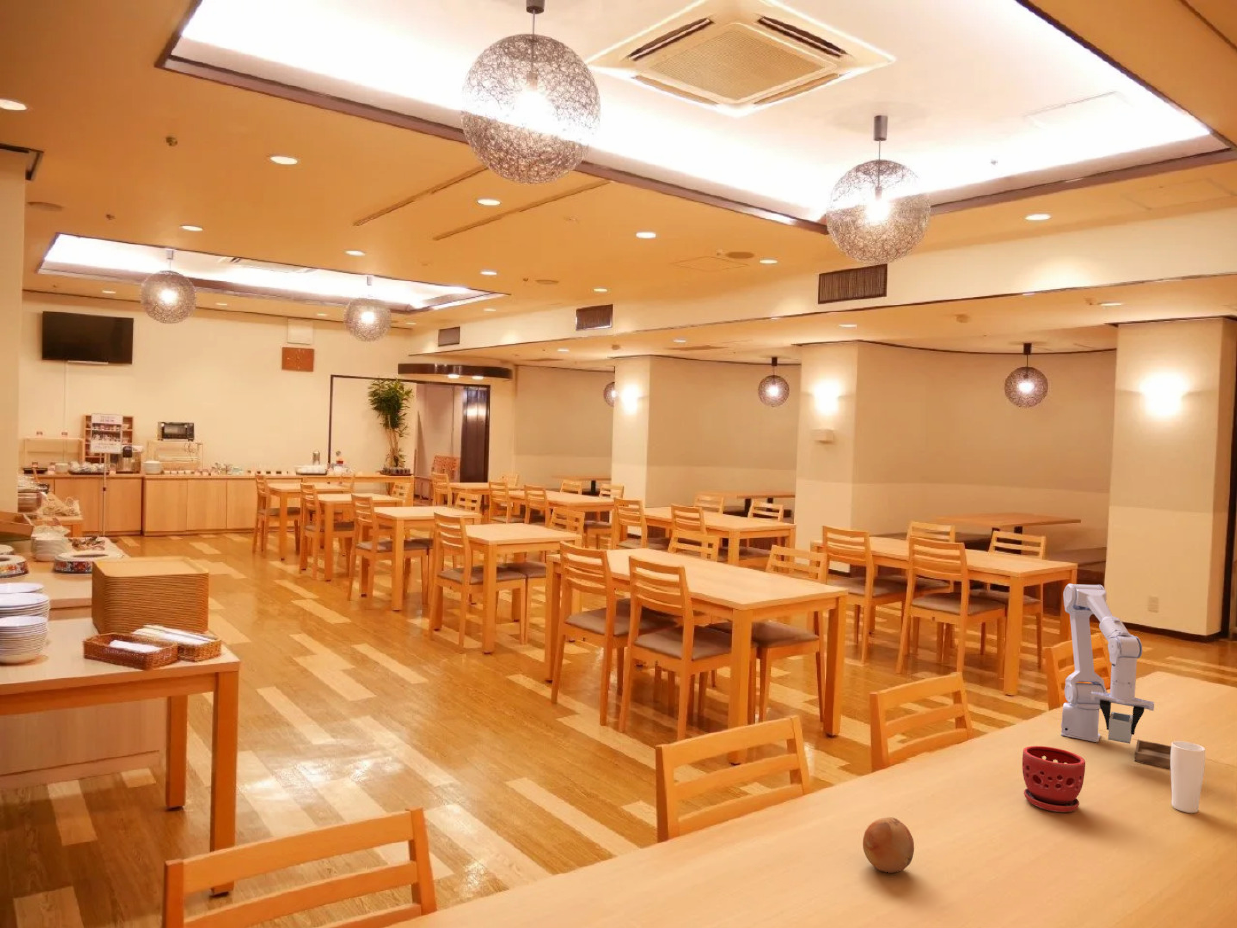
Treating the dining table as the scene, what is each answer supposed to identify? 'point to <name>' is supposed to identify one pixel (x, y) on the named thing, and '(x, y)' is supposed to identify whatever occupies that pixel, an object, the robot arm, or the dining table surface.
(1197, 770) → the white cup
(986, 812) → the dining table surface
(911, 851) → the onion
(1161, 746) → the walnut crate
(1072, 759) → the plant pot
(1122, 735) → the small crate
